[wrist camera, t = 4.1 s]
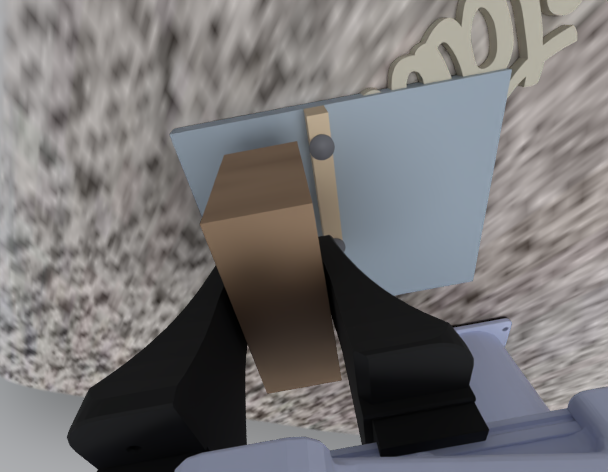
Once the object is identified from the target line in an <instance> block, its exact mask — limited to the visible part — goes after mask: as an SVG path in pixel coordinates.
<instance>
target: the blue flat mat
mask: <svg viewBox="0 0 608 472" xmlns="http://www.w3.org/2000/svg"><path fill="white" fill-rule="evenodd" d="M511 72H512V69H508V68H506V69H501V70H496V71H490V72H485V73H480V74H475V75H469V76H464V77H463V76H459V75H454V76H451V78H452V79H448V80H443V81H438V82H433V83H427V84H423V83H420V82H417V83H412V84H407V87H406V88H401V89H396V90H390V89H389V88H386V89H381V90H379V91H380V93H375V94H370V95H365V96H363V95H362V94H361V93H360V94H354V95H349V96H344V97H339V98H333V99H328V100H323V101H318V102H312V103H307V104H302V105H297V106H291V107H286V108H281V109H276V110H270V111H265V112H260V113H255V114H249V115H244V116H239V117H234V118H228V119H223V120H218V121H213V122H207V123H202V124H197V125H191V126H186V127H181V128H176V129H174V130H173V131H172V132H171V133H170V134H169V135H170V137H171V140H172V142H173V145H174V147H175V150H176V152H177V155H178V158H179V160H180V163H181V165H182V168H183V170H184V173H185V175H186V178H187V180H188V183H189V185H190V188H191V190H192V193H193V195H194V198H195V201H196V203H197V206H198V208H199V211H200V213H201V216H202V217H203V214H204V211H205V208H206V205H207V202H208V199H209V197H210V194H211V191H212V188H213V185H214V182H215V179H216V177H217V174H218V171H219V168H220V165H221V162H222V159H223V157H224V155H226V154H231V153H237V152H242V151H247V150H253V149H258V148H263V147H268V146H274V145H279V144H284V143H289V142H295V141H297V143H298V147H299V151H300V155H301V159H302V163H303V167H304V171H305V175H306V179H307V183H308V187H309V191H310V195H311V199H312V203H313V209H314V215H315V221H316V227H317V233H318V237H319V236H325V235H331V236H332V237H333V239H334V240H335V242H336V243H337V245H338V246H339V247H340V249H341V250H342V251H343V252H344V253H345V255H346V256H347V257H348V258H349V259H350V260H351V261H352V262H353V263H354V264H355V265H356V266H357V267H358V268H359V269H360V270H361V271H362V272H363V273H364V274H365V275H367V276H368V277H369V278H370V279H371V280H372V281H374V282H375V283H376V284H378V285H379V286H380V287H382V288H383V289H384V290H386V291H387V292H389V293H390V294H392V295H393V296H394V295H399V294H405V293H410V292H416V291H421V290H427V289H432V288H437V287H443V286H448V285H454V284H459V283H465V282H470V281H473V278H474V272H475V267H476V261H477V256H478V251H479V245H480V240H481V234H482V229H483V224H484V218H485V213H486V207H487V202H488V197H489V191H490V186H491V180H492V175H493V170H494V164H495V159H496V153H497V148H498V143H499V137H500V132H501V126H502V121H503V116H504V110H505V105H506V99H507V94H508V89H509V83H510V78H511Z"/></svg>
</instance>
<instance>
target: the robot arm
mask: <svg viewBox="0 0 608 472" xmlns="http://www.w3.org/2000/svg"><path fill="white" fill-rule="evenodd" d="M318 239H319V245H320V252H321V258H322V264H323V270H324V276H325V282H326V288H327V294H328V300H329V306H330V312H331V316H332V319H333V322H334V325H335V328H336V331H337V335H338V338H339V341H340V345H341V348H342V352H343V357H344V362H345V366H346V371H347V376H348V380H349V385H350V390H351V394H352V399H353V404H354V409H355V413H356V418H357V423H358V428H359V432H360V437H361V442H362V445H359V446H353V447H347V448H343V449H336V450H331V451H330V450H329V449H328V448H327V447H326V446H325V445H324V444H323V443H322V442H321V441H319V440H316V439H312V438H308V437H289V438H282V439H277V440H271V441H265V442H260V443H255V444H248V445H247V439H246V401H245V366H246V353H247V341H246V339H245V336H244V334H243V331H242V329H241V326H240V324H239V321H238V319H237V316H236V314H235V311H234V309H233V306H232V304H231V301H230V299H229V296H228V294H227V291H226V289H225V286H224V284H223V281H222V279H221V276H220V274H219V271H218V269H217V266H215V267H214V269H213V270H212V272H211V273H210V275H209V276H208V278H207V279H206V281H205V282H204V284H203V285H202V287H201V288H200V289H199V291H198V292H197V293H196V295H195V296H194V297H193V299H192V300H191V301H190V302H189V304H188V305H187V306H186V307H185V309H184V310H183V311H182V312H181V313H180V314H179V315H178V316H177V317H176V319H175V320H174V321H173V322H172V323H171V324H170V325H169V326H168V327H167V328H166V329H165V330H164V331H163V332H162V333H160V334H159V335H158V336H157V337H156V338H155V339H154V340H153V341H152V342H151V343H150V344H149V345H147V346H146V347H145V348H144V349H143V350H142V351H140V352H139V353H138V354H137V355H135V356H134V357H133V358H132V359H130V360H129V361H128V362H127V363H125V364H124V365H123V366H121V367H120V368H119V369H117V370H116V371H114V372H113V373H111V374H110V375H109V376H107V377H106V378H104V379H103V380H101V381H100V382H98V383H97V384H96V385H94V386H93V387H91V388H90V389H89V390H88V392H87V394H86V396H85V398H84V400H83V402H82V405H81V407H80V409H79V411H78V413H77V415H76V417H75V419H74V421H73V423H72V425H71V428H70V430H69V432H68V435H67V439H68V442H69V444H70V446H71V447H72V448H73V449H74V450H75V452H77V453H78V454H79V455H81V456H82V457H83V458H84V459H86V460H87V461H88V462H89V463H91V464H92V465H93V466H95V467H96V468H97V469H98V471H97V472H608V386H607V387H602V388H596V389H590V390H586V391H582V392H579V393H578V394H576V395H574V396H573V397H572V398H571V400H570V401H569V404H568V408H566V409H560V410H555V411H550V410H549V409H548V407H547V406H546V404H545V403H544V402H543V400H542V399H541V398H540V396H539V395H538V393H537V392H536V391H535V389H534V388H533V386H532V385H531V384H530V382H529V381H528V379H527V378H526V377H525V375H524V374H523V373H522V371H521V370H520V368H519V367H518V366H517V364H516V363H515V361H514V360H513V359H512V357H511V356H510V355H509V353H508V352H507V350H506V349H505V345H506V342H507V338H508V335H509V332H510V329H511V326H512V322H511V321H510V319H508V318H504V319H498V320H493V321H487V322H482V323H476V324H471V325H465V326H460V327H454V328H453V327H452V326H451V325H450V324H449V323H448V322H445V321H443V320H441V319H438V318H436V317H433V316H431V315H429V314H426V313H424V312H422V311H420V310H418V309H416V308H414V307H412V306H410V305H408V304H407V303H405V302H403V301H402V300H400V299H398V298H396V297H395V296H393V295H392V294H390V293H389V292H387V291H386V290H384V289H383V288H382V287H380V286H379V285H378V284H376V283H375V282H374V281H372V280H371V279H370V278H369V277H368V276H367V275H365V274H364V273H363V272H362V271H361V270H360V269H359V268H358V267H357V266H356V265H355V264H354V263H353V262H352V261H351V260H350V259H349V258H348V257H347V256H346V255H345V253H344V252H343V251H342V250H341V249H340V247H339V246H338V245H337V243H336V242H335V240H334V239H333V237H332V236H331V235H325V236H319V237H318Z"/></svg>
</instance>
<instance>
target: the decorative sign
mask: <svg viewBox="0 0 608 472" xmlns="http://www.w3.org/2000/svg"><path fill="white" fill-rule="evenodd" d="M510 1H511V4H512V8H513V12H514V18H515V25H516V32H517V39H518V46H519V58H518V60H517V61H516V62H515V63H514V64H513V65H512V66H511V67H510V69H512V72H511V78H510V83H509V89H508V94H507V98H508V97H509V95H510V94H511V93H512V91H513V90H514V89H515V87H516V86H517V85H518V86H522V87H529V86H533V85H535V84H537V83H538V81H539V78H540V76H541V73H542V69H543V65H544V61H546V60H547V59H548V58H550V57H551V56H553V55H554V54H556V53H557V52H559V51H560V50H562V49H563V48H565V47H567V46H568V45H570V44H572V43H574V42H576V41H577V31H576V28H575V26H574V25H562V26H560V27H558V28H557V29H555V30H553V31H552V32H550V33H549V34H547V35H546V36H544V37H543V28H542V16H541V12H542V13H543V14H545V15H548V16H563V15H567V14H570V13H571V12H573V11H574V10H575V9H576V8H577V7H578V6H579V4H580V3H581V2H582V0H510ZM477 10H479V11H480V12H481V13H482V15H483V17H484V18H485V21H486V24H487V27H488V34H489V54H488V57H487V59H486V61H485V62H484V63H483V64H482V65H480V66H477V65H476V62H475V59H474V54H473V49H472V44H471V26H472V22H473V18H474V15H475V13H476V11H477ZM513 42H514V36H513V27H512V21H511V16H510V12H509V8H508V5H507V2H506V0H459V2H458V5H457V11H456V19H455V20H454V19H452V18H440V19H438V20H436V21H435V22H433V23H432V24H431V25H430V27H429V28H428V29H427V31H426V32H425V34H424V36H423V38H422V40H421V42H420V43H418V44H416V45H415V46H414V47H413V48H412V49H411V51H410V54H407V55H403V56H400V57H398V58H397V59H395V60H394V61H393V63H392V64H391V66H390V68H389V72H388V88H389V89H390V90H396V89H401V88H406V87H407V78H408V75H409V74H410V73H411V72H413V71H414V72H415V73H416V75H417V77H418V80H419V82H420V83H423V84H427V83H433V82H438V81H443V80H448V79H452V78H451V75H450V72H449V70H448V68H447V65H446V63H445V61H444V59H443V57H442V55H441V54H440V52H439V50H438V46H439V45H440V44H441V43H442V44H443V45H444V47H445V48H446V50H447V51H448V53H449V55H450V57H451V59H452V61H453V64H454V67H455V70H456V74H457V75H459V76H463V77H464V76H469V75H475V74H480V73H485V72H490V71H496V70H501V69H506V68H507V66H508V64H509V61H510V59H511V55H512V51H513ZM375 93H380V91H379V90H377V89H375V88H367V89H365V90H363V91H362V92H361V94H362V95H363V96H365V95H370V94H375Z"/></svg>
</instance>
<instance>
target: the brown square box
mask: <svg viewBox="0 0 608 472" xmlns="http://www.w3.org/2000/svg"><path fill="white" fill-rule="evenodd" d="M200 226H201V228H202V231H203V233H204V236H205V239H206V241H207V244H208V246H209V249H210V251H211V254H212V256H213V259H214V261H215V264H216V266H217V269H218V271H219V274H220V276H221V279H222V281H223V284H224V286H225V289H226V291H227V294H228V296H229V299H230V301H231V304H232V306H233V309H234V311H235V314H236V316H237V319H238V321H239V324H240V326H241V329H242V331H243V334H244V336H245V339H246V341H247V344H248V346H249V349H250V351H251V354H252V356H253V359H254V361H255V364H256V366H257V369H258V371H259V374H260V376H261V379H262V381H263V384H264V386H265V389H266V392H267V394H269V393H274V392H280V391H285V390H291V389H297V388H302V387H308V386H313V385H319V384H324V383H330V382H335V381H341V380H342V379H341V373H340V367H339V361H338V354H337V348H336V342H335V336H334V330H333V324H332V318H331V312H330V306H329V300H328V294H327V288H326V282H325V276H324V270H323V264H322V258H321V252H320V245H319V239H318V233H317V227H316V221H315V215H314V209H313V203H312V199H311V195H310V191H309V187H308V183H307V179H306V175H305V171H304V167H303V163H302V159H301V155H300V151H299V147H298V143H297V141H295V142H289V143H284V144H279V145H274V146H268V147H263V148H258V149H253V150H247V151H242V152H237V153H231V154H226V155H224V157H223V159H222V162H221V165H220V168H219V171H218V174H217V177H216V179H215V182H214V185H213V188H212V191H211V194H210V197H209V199H208V202H207V205H206V208H205V211H204V214H203V217H202V219H201V222H200Z"/></svg>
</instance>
